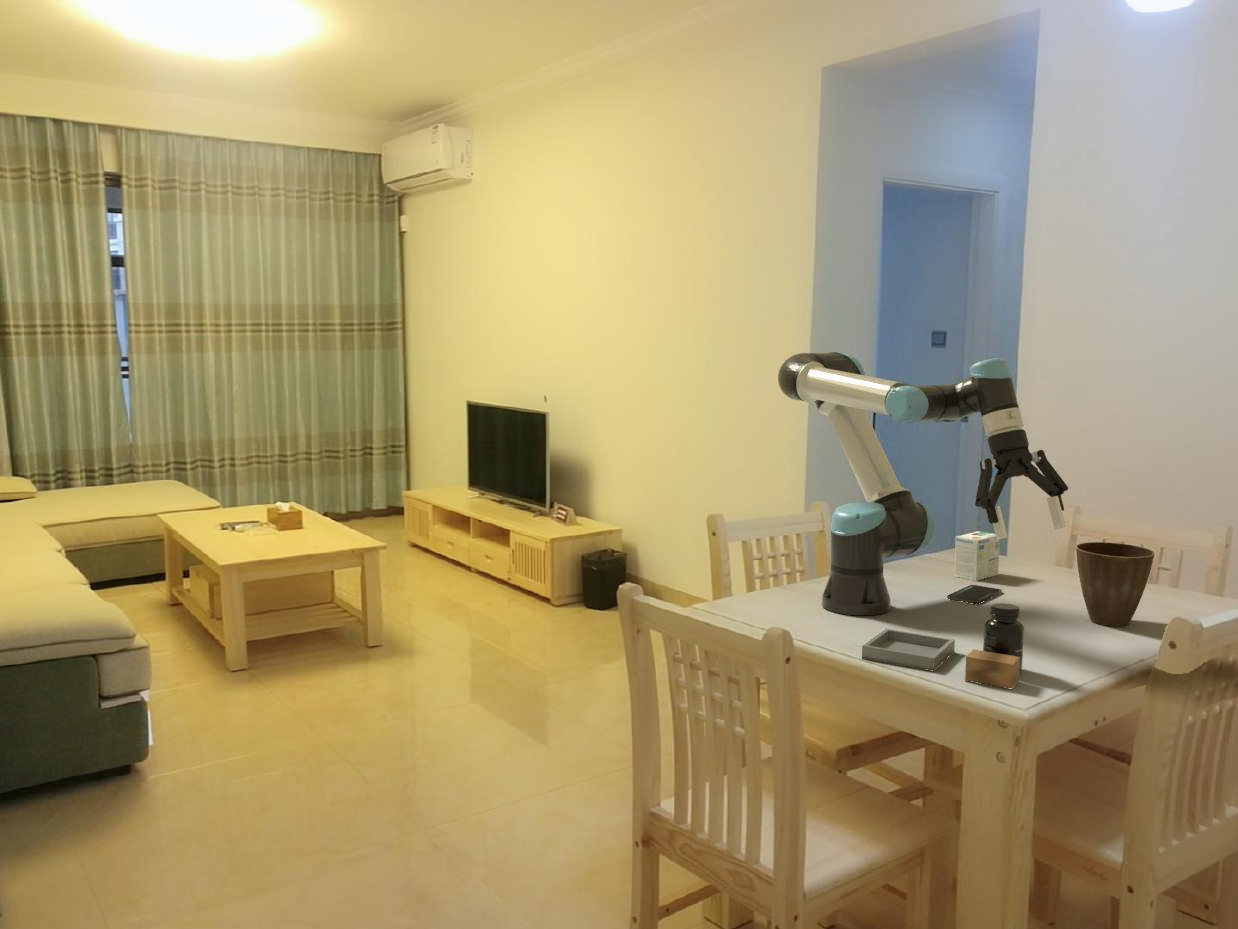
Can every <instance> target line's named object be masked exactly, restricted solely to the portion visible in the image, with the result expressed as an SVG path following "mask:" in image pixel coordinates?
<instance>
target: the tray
mask: <svg viewBox="0 0 1238 929" xmlns="http://www.w3.org/2000/svg"><path fill="white" fill-rule="evenodd" d="M955 641H956V639H953V638H946V637H941V636H934V635H928V634H921V633H915V632H911V631H910V632H909V631H903V630H897V629H890V628H885V629H884V630H883V631H880V632H879V633H878V634H877V635H875V636H874V637H873V638H871V639H869V640H868V641H867V642H866V643H864V644H863V645H862V646H861V647H862V648H861V649H862V650H861V659H863V660H868V661H874V662H879V663H884V664H890V665H895V664H896V666H900V665H901V666H902V667H906V666H908V668H912V667H913V669H917V668H919V669H918V670H923V669H928V670H933V671H932V672H935V671H934V670H935V669H936V668H937V667H938V666H939V665H940V664H941V663H942V662H943V663H945V661H947V660H948V659H947V657H948V656H950V655H951V654H952V653H953V652H954V653H955V646H956V645H955V643H956V642H955ZM954 653H953V654H954ZM953 654H952V655H953ZM952 655H951V656H952ZM951 656H950V657H951ZM943 663H942V664H943ZM942 664H941V665H942ZM941 665H940V666H941ZM940 666H939V667H940ZM939 667H938V668H939ZM938 668H937V669H938ZM937 669H936V670H937ZM928 670H927V671H928Z"/></svg>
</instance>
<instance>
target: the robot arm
mask: <svg viewBox="0 0 1238 929" xmlns="http://www.w3.org/2000/svg"><path fill="white" fill-rule="evenodd" d="M1008 365H1009V364H1008V363H1007V361H1006V360H1005V359H1004V358H1001V357H995V358H993V357H992V358H989V359H985V360H981V361H979V362H976V363H974V364H973V365H971V366H970V367H969V376H970V377H968V378H967V379H964V380H962V381H958V382H955V383H952V384H937V385H935V384H934V385H932V384H931V385H916V384H915V385H914V384H910V383H905V382H899V381H895V380H894V381H893V380H890V379H884V378H879V377H875V376H868V375H865V371H864V367H863V365H862V364H861V362H860V361H859V360H858V359H857V358H856V357H855V356H853V355H851V354H848V353H844V352H838V351H834V352H833V351H831V352H825V353H824V352H812V353H810V352H801V353H796V354H793V355H791V356H789V357H788V358H787V359H786V360H785V361H784V362H783V363H782V364H781V366H780V368H779V370H778V375H777V380H778V386H779V389H780V390H781V392H782V393H783V394H784V395H785V396H787V398H789V399H792V400H795V401H801V402H806V403H813V402H814V403H815V405H816V408H817V409H818V412H819V414H821V415H823V416H826V417H828V419H829V421H830V423H831V426H832V428H833V431H834V433H835V434H836V436H837V439H838V441H839V443H840V446H841V447H842V449H843V453H844V454H845V457H846V459H847V461H848V463H849V465H850V467H851V470H852V472H853V474H854V476H855V478H856V482H857V483H858V486H859V487H860V490H861V492H862V495H863V497H864V499H865V501H859V502H849V503H846V504H843V505H840V506H838V507H836V509H834V510H833V512H832V517H831V524H830V574H829V576H828V578H827V582H826V585H825V587H824V590H823V593H822V597H821V605H822V608H824V609H825V610H827V611H830V612H834V613H836V614H843V615H851V616H877V615H882V614H886V613H888V612H890V611H891V597H890V593H889V590H888V586H887V584H886V583H887V582H886V581H885V577H884V562H885V561H884V560H885V559H887V558H891V557H899V556H908V555H909V556H910V555H913V554H914V553H918V552H922V551H923V550H925V549H926V548H928V546H929V545H930V544H931V543H932V540H933V538H934V534H935V531H936V529H935V528H936V521H935V518H934V515H933V513H932V511H931V509H930V508H929V507H928V506H927V505H926V504H923V503H921V502H918V501H917V502H916V501H915V499H914V497H913V496H914V495H913V494H912V492H911V490H910V489H908V488H905V487H902V486H901V484H900V482H899V480H898V479H897V478H898V477H897V476H896V474H895V472H894V470H893V467H892V465H891V462H890V460H889V459H888V456H887V454H886V453H885V450H884V448H883V446H882V444H881V442H880V440H879V437H878V436H877V433H876V431H875V429H874V427H873V424H872V422H871V420H870V418H869V416H868V414H867V412H871V413H876V414H880V415H883V416H888V417H890V418H891V419H892V421H895V422H897V423H905V424H906V423H907V424H914V423H919V422H929V421H931V422H932V421H933V422H935V423H937V424H940V425H944V424H947V423H948V424H949V423H954V422H957V421H958V420H961V419H963V418H966V417H968V416H971V415H975V414H976V413H980V416H981V421H982V423H983V424H982V425H983V428H984V432H985V433H984V434H985V435H986V436H989V437H987V445H988V448H989V451H990V454H991V455H992V458H989V457H988V458H985V459H983V460H980V462H979V467H980V474H979V475H980V476H979V480H978V485H977V486H978V487H977V492H976V497H975V502H974V505H975V506H976V507H977V508H979V507H981V508H982V509H983V510H985V511H986V515H987V518H988V523H989V524H990V525H992V526H993V530H994V534H996V538H997V540H1000V541H1001V540H1004V539H1007V538H1008V533H1007V529H1006V525H1005V521H1004V517H1003V514H1002V513H1003V512H1002V510H1001V506H1000V505H999V506H996V504H997V503H998V500H999V498H1000V495H1001V494H1002V492H1003V489H1004V487H1005V485H1006V482H1007V481H1008V480H1009V479H1011V478H1014V477H1018V478H1019V477H1022V476H1023V477H1025V478H1028V479H1029V480H1030V481H1032V482H1033V483H1034V484H1035V485H1036V486H1037V487H1038V488H1040V489H1041V490H1042V491H1043V492H1044V493H1045V494H1047V495H1048V496H1049V497H1047V498H1046V501H1047V505H1048V509H1049V512H1050V517H1051V520H1052V524H1053V528H1054V530H1058V529H1063V528H1066V527H1067V525H1066V521H1065V516H1064V514H1063V512H1064V511H1065V507H1064V503H1063V498H1062V495H1064V493H1065V492H1066V491H1068V490H1069V487H1068V485H1067V484H1066V483H1065V481H1064V480H1063V479H1062V477H1061V476H1060V475H1059V473H1058V472H1057V471H1056V469H1055V468H1054V466H1052V464H1051V463H1050V461H1049V460H1048V458H1047V456H1046V453H1045V451H1044V449H1039V450H1037V451H1033V452H1032V453H1031V452H1030V449H1029V444H1030V443H1029V439H1028V436H1027V432H1026V430H1025V429H1022V428H1023V427H1024V425H1025V424H1024V421H1023V418H1022V414H1021V409H1020V407H1019V403H1018V399H1017V396H1016V392H1015V391H1016V390H1015V388H1014V382H1013V375H1012V374H1011V372H1010V368H1009V366H1008ZM866 411H867V412H866ZM1033 462H1034V464H1035V465H1036V466H1035V465H1034V464H1032V463H1033ZM994 468H995V469H997V472H996V474H995V475H994V481H993V483H992V485H991V482H992V478H993V472H994V470H993V469H994Z"/></svg>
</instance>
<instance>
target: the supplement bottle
mask: <svg viewBox="0 0 1238 929" xmlns="http://www.w3.org/2000/svg"><path fill="white" fill-rule="evenodd" d="M989 615H990V616H991V617H990V618H988V619H986V620H985V622H984V626H983V641H982V642H983V645H982V646H983V647H982V651H986V652H993V653H999V654H1005V655H1011V656H1017V657H1020V668H1019V674H1020V673H1021V672H1022V670H1023V654H1024V653H1023V652H1024V639H1025V637H1024V635H1025V627H1024V624H1023V623H1022V622H1021V621H1020V620H1019V618H1020V607H1019V606H1017V605H1015V604H1011V603H1002V602H1001V603H998V602H997V603H992V604H991V605H990V611H989Z"/></svg>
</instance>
